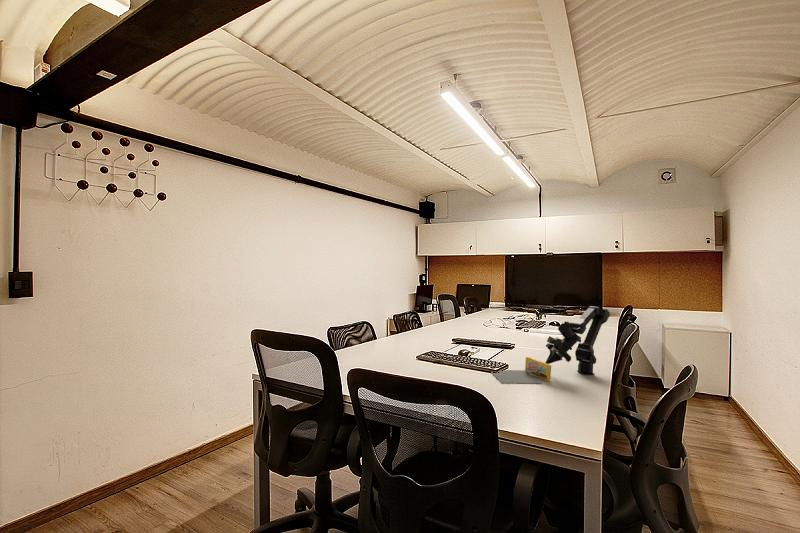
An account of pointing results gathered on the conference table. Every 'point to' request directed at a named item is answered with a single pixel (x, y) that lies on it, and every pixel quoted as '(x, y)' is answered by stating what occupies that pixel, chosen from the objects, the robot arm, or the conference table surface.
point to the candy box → (538, 368)
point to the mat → (516, 377)
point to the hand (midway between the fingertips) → (546, 363)
